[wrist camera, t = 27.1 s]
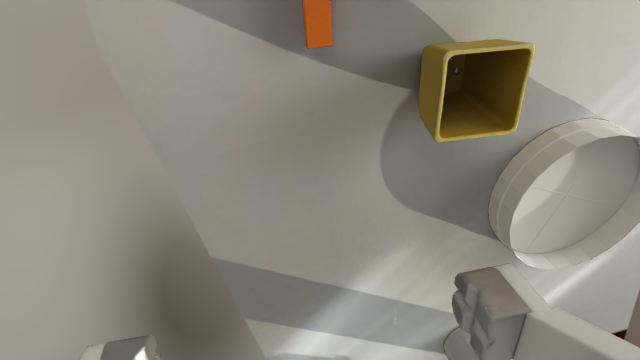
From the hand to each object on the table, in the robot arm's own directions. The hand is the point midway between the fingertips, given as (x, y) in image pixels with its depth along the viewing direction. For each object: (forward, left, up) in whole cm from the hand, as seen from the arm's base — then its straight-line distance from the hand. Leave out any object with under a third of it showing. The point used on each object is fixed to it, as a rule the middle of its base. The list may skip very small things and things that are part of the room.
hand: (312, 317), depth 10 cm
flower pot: (+20, -5, -34) cm, 40 cm away
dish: (+40, -25, -34) cm, 58 cm away
